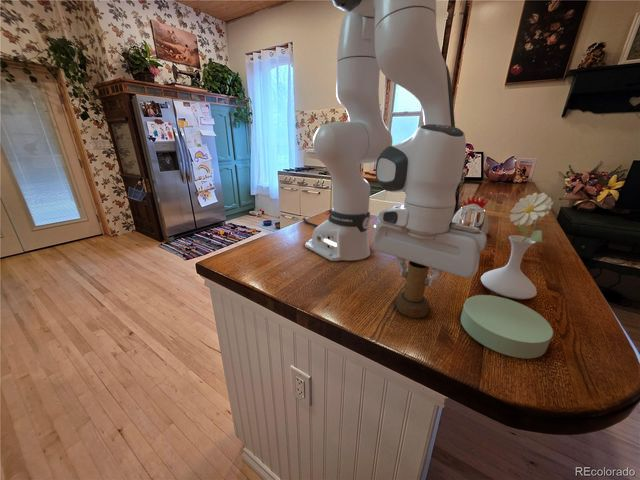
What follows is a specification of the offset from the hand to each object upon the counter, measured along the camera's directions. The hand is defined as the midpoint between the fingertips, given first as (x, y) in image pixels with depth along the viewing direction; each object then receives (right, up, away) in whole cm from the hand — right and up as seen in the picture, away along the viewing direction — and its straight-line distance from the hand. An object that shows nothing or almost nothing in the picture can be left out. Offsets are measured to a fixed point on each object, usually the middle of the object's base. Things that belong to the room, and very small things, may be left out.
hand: (415, 280), depth 54 cm
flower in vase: (+26, -4, +9) cm, 28 cm away
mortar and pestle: (0, -7, +3) cm, 7 cm away
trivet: (+15, -9, -4) cm, 18 cm away
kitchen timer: (+40, +11, +50) cm, 64 cm away
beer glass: (+27, +4, +30) cm, 41 cm away
